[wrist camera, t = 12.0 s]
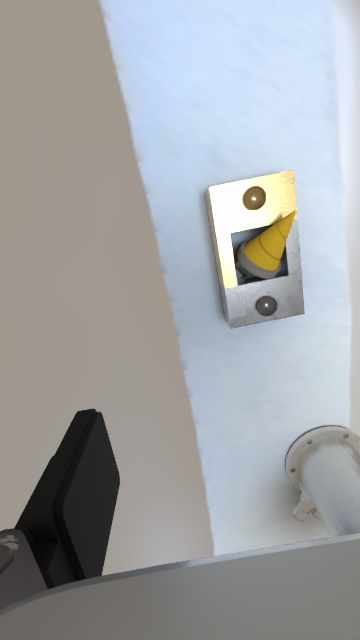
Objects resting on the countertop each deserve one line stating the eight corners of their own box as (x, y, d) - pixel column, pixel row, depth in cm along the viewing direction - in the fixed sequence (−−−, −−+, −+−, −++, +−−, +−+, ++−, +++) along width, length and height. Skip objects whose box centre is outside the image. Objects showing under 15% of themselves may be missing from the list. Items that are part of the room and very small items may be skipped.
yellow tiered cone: (222, 259, 38) (266, 188, 31) (257, 269, 40) (307, 203, 33) (229, 289, 35) (281, 217, 28) (267, 299, 37) (325, 233, 29)
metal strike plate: (291, 305, 40) (306, 315, 35) (224, 318, 40) (231, 329, 36) (280, 175, 35) (296, 168, 31) (204, 191, 35) (209, 186, 31)
